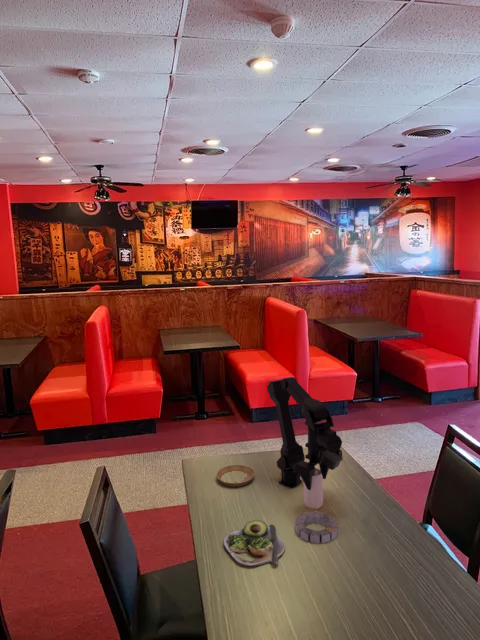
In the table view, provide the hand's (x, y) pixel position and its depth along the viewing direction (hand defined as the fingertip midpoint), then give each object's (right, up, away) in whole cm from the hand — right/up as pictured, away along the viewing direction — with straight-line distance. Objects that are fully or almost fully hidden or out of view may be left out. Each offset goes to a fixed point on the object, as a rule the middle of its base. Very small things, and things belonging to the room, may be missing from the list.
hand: (316, 484), depth 158 cm
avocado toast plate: (-22, -12, -19) cm, 31 cm away
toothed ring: (-2, -10, -13) cm, 16 cm away
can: (-1, -8, +2) cm, 8 cm away
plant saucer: (-28, -6, +21) cm, 36 cm away
